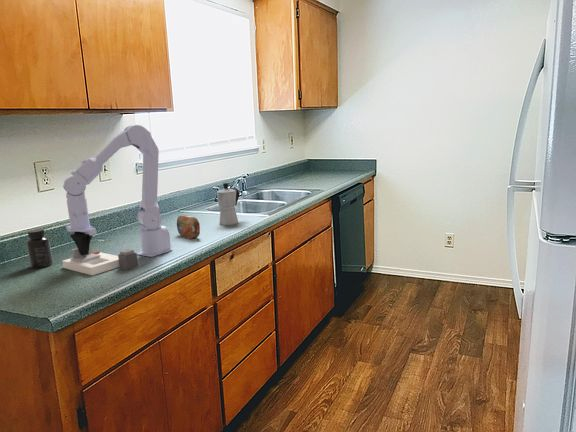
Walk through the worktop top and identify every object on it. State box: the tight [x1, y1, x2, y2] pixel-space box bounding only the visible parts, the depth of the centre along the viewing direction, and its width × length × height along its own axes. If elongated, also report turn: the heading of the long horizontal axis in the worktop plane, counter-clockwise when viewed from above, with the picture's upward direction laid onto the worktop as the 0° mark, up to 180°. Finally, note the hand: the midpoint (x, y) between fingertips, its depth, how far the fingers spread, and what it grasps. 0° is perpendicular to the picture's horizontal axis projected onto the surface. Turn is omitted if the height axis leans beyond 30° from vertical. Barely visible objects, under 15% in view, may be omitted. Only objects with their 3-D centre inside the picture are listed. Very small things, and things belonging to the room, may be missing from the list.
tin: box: [176, 215, 201, 240], centre depth 184 cm, size 15×3×8 cm, turn 40°
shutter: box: [69, 245, 101, 262], centre depth 151 cm, size 7×7×3 cm
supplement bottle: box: [25, 228, 54, 269], centre depth 154 cm, size 7×7×12 cm
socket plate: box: [62, 250, 120, 276], centre depth 150 cm, size 12×17×3 cm
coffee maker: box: [215, 182, 240, 227], centre depth 204 cm, size 15×9×18 cm, turn 148°
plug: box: [117, 248, 139, 271], centre depth 147 cm, size 4×4×6 cm
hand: (84, 254), depth 151 cm, fingers closed
